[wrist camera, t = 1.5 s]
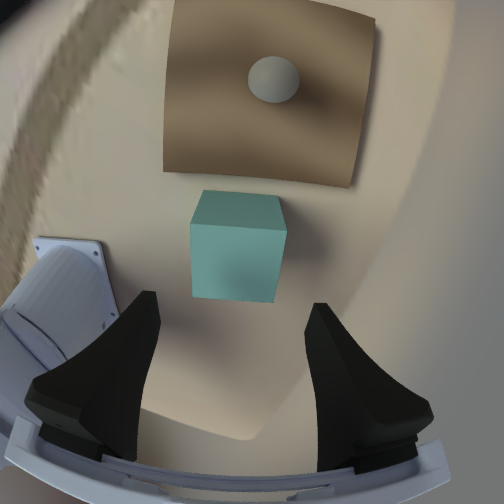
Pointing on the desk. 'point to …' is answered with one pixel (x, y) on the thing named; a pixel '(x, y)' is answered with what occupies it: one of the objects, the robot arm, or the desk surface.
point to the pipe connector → (8, 7)
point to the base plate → (257, 126)
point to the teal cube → (236, 246)
